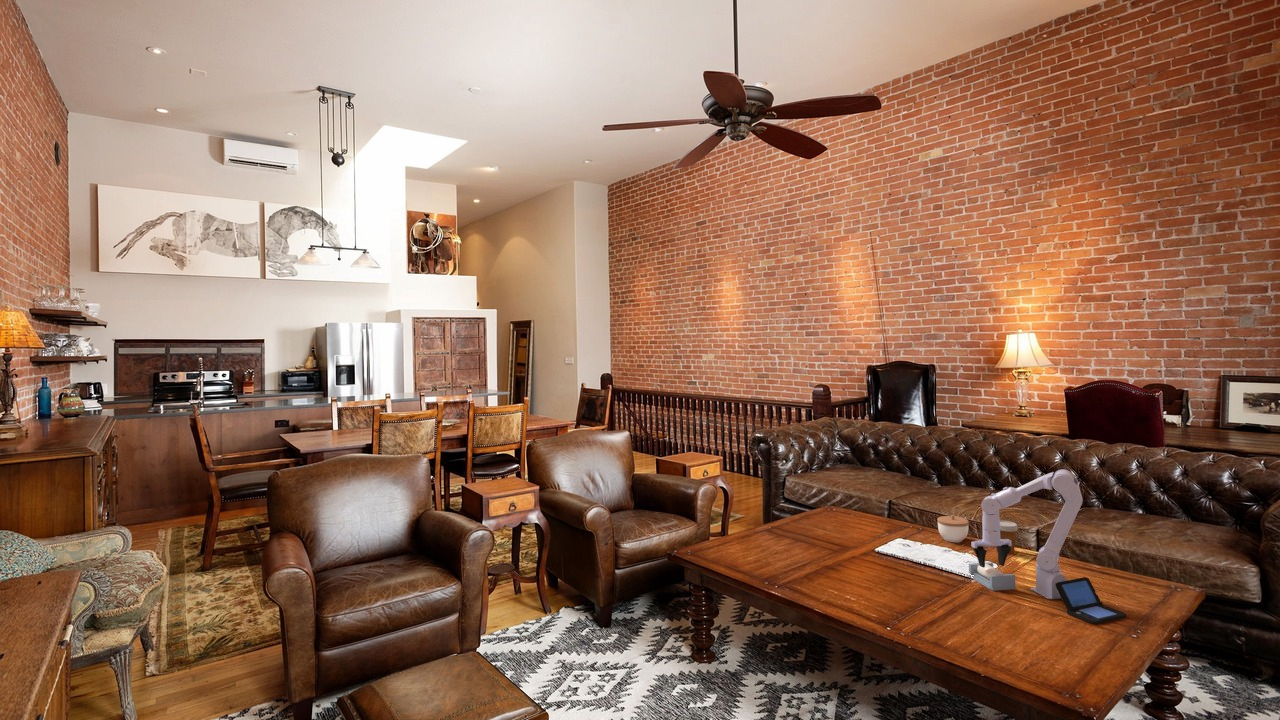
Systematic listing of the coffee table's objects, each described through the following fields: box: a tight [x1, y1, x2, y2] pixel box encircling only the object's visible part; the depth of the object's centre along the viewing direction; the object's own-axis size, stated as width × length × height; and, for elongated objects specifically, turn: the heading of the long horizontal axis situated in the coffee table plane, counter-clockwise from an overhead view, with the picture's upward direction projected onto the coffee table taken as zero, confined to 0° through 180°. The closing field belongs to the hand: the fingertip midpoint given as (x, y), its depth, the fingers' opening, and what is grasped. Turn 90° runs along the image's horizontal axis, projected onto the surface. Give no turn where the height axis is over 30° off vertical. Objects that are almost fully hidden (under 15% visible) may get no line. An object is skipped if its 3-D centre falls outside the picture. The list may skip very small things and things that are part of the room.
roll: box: [977, 562, 1004, 581], centre depth 237 cm, size 8×5×5 cm, turn 6°
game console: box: [1056, 576, 1127, 625], centre depth 210 cm, size 16×14×9 cm
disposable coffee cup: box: [995, 520, 1019, 555], centre depth 269 cm, size 10×10×12 cm
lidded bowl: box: [937, 514, 970, 543], centre depth 286 cm, size 13×13×11 cm
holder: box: [968, 561, 1017, 592], centre depth 237 cm, size 14×9×5 cm, turn 6°
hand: (991, 565), depth 237 cm, fingers open, 7 cm apart
